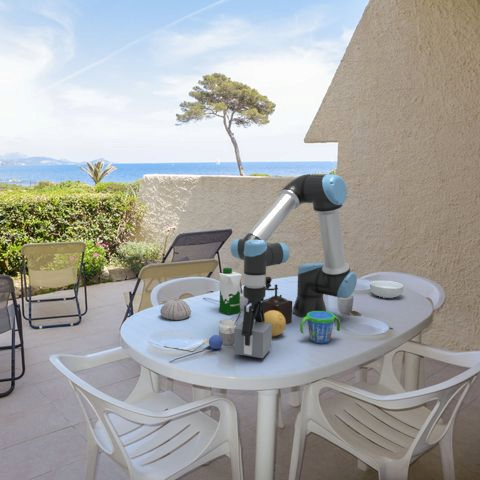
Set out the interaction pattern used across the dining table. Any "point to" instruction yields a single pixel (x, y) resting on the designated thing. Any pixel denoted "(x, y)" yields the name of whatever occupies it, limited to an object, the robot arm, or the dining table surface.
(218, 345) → the ball
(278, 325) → the stress ball
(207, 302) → the dining table surface
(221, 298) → the milk carton
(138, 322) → the dining table surface
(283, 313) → the coffee grinder
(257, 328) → the grey cube
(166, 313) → the sea urchin shell
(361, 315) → the dining table surface
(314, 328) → the snack cup
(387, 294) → the cereal bowl
